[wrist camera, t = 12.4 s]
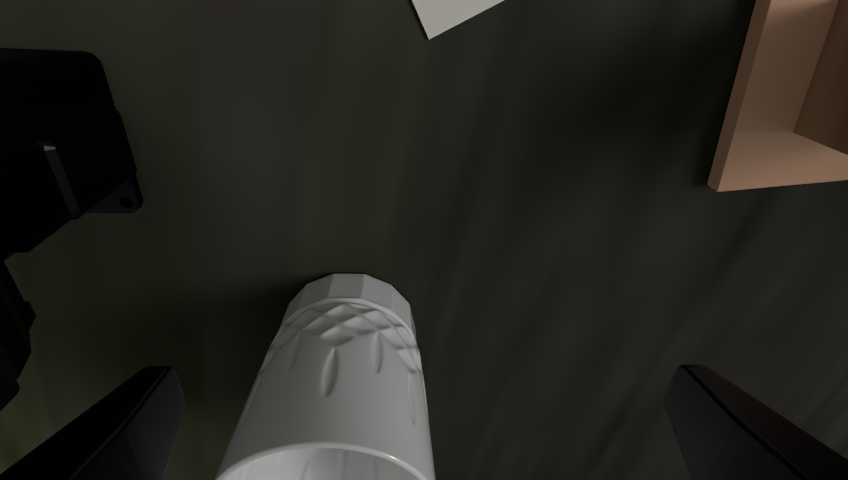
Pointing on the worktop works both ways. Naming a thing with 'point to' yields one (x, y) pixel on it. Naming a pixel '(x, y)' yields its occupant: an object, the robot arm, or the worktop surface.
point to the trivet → (776, 102)
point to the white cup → (337, 391)
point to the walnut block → (829, 89)
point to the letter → (448, 13)
